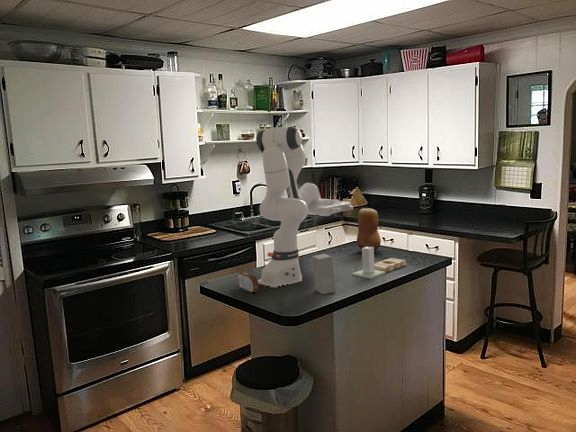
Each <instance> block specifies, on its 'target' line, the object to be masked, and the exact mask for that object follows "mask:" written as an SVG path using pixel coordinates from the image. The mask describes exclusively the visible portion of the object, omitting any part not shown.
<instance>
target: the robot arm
mask: <svg viewBox="0 0 576 432" xmlns="http://www.w3.org/2000/svg"><path fill="white" fill-rule="evenodd" d="M255 142H256V145H257V148H258V150H259V151H260V152H261V153H262V165H263V174H264V176H265V177H264V178H265V185H266V193H265V197H264V199H263V200H262V201H261V202H260V203H259V204H260V205H259V213H260V215H261V217H262V218H264V219H266V220H270V221H275V222H276V221H278V222H280V227H279V228H278V229H277V230H276V231H275V232H274V233H273V236H272V238H273V252H267V256H268V257H269V258H271V259H270V260H269V262H268V263H267V264H266V265H265V267H263V269H261V276H260V277H261V278H260V279H257V281H258V283H259V284H262V285H265V286H264V287H266V286H270V287H269V288H279V287H278V286H280V287H283V286H282V285H284V286H288V285H292V284H296V283H297V284H298V283H300V282H303V274H302V271H301V269H300V268H301V266H300V264H299V263H300V262H299V254H300V252H299V249H298V230H299V227H300V225H301V223H302V222H303V221H304V220H305V219H306V218H307V217H308V215H311V216H312V215H313V216H322V217H329V216H331V215H333V214H336V213H340V212H345V211H350V210H351V211H353V210H354V206H353V205H352V203H351V202H350V201H344V200H339V199H329V198H322V197H321V196H322V195H321V192H320V189H319V187H318V186H317V185H316V184H314V183H312V182H305V183H303V185H302V186H301V187H300V188H298V183H297V180H298V177H299V174H300V172H301V171H302V169H303V167H304V165H305V164H306V160H307V158H306V152H305V149H304V147H303V135H302V132H301V130H300V129H299V128H298V127H297V126H288V127H285V126H283V127H271V128H268V129H266V128H265V129H262V130H259V131H258V133H257V134H256V137H255ZM285 191H286V195H287V197H285ZM259 284H258V285H259ZM287 284H288V285H287ZM262 285H261V286H262Z"/></svg>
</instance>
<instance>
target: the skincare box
mask: <svg viewBox="0 0 576 432" xmlns="http://www.w3.org/2000/svg"><path fill="white" fill-rule="evenodd" d="M311 258H312V268H313V276H314V286H315V291H317V292H318V293H319V294H320V295H326V294H332V293H336V286H335V285H336V284H335V275H334V274H335V273H334V267H333V258H332V256H331V255H328V254H326V253H323V254H315V255H312V256H311Z"/></svg>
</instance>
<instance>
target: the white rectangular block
mask: <svg viewBox="0 0 576 432" xmlns="http://www.w3.org/2000/svg"><path fill="white" fill-rule="evenodd" d="M361 258H362V260H361V265H362V266H361V267H362V270H363V273H367V274H371V273H374V272H375V268H374V263H375V251H374V248H373V247H364V248H362V250H361Z"/></svg>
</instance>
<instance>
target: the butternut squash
mask: <svg viewBox="0 0 576 432" xmlns="http://www.w3.org/2000/svg"><path fill="white" fill-rule="evenodd" d="M357 215H358V216H357V219H358V221H357V222H358V224H357V226H358V227H357V230H358V231H357V235H356V244H357V247H358V248H359V249H360V250H361V251H362V248H364V247H373V248H374V252H376V251H377V250H378V249H379V248H380V246H381V241H382V240H381V236H380V233H379V231H378V229H379V214H378V211H377V210H375V209H373V208H369V207H367V208H360V210H359V211H358V213H357Z"/></svg>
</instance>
